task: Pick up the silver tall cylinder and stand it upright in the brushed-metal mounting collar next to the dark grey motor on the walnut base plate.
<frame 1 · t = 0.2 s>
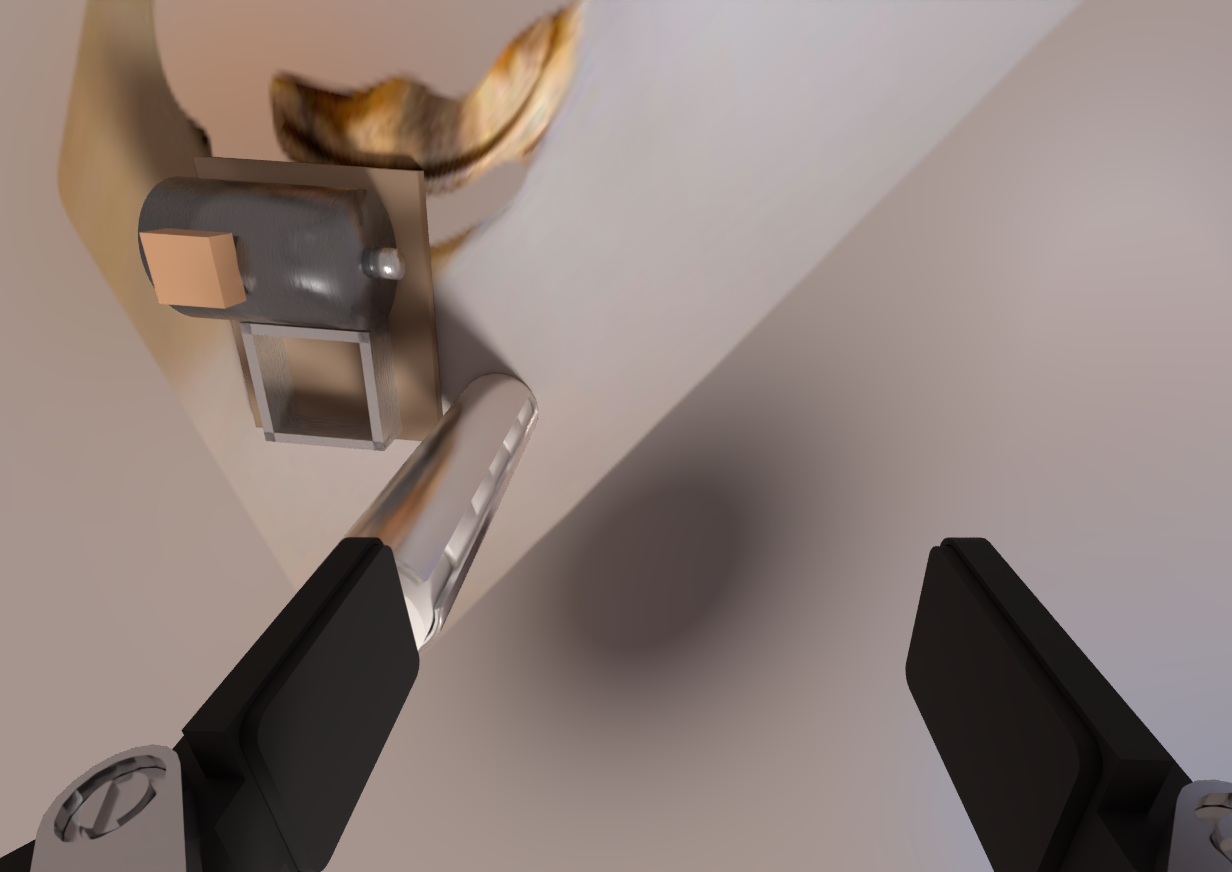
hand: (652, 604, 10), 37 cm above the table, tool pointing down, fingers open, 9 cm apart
motor mount: (335, 309, 47), on the table
silver tall cylinder: (501, 408, 50), on the table
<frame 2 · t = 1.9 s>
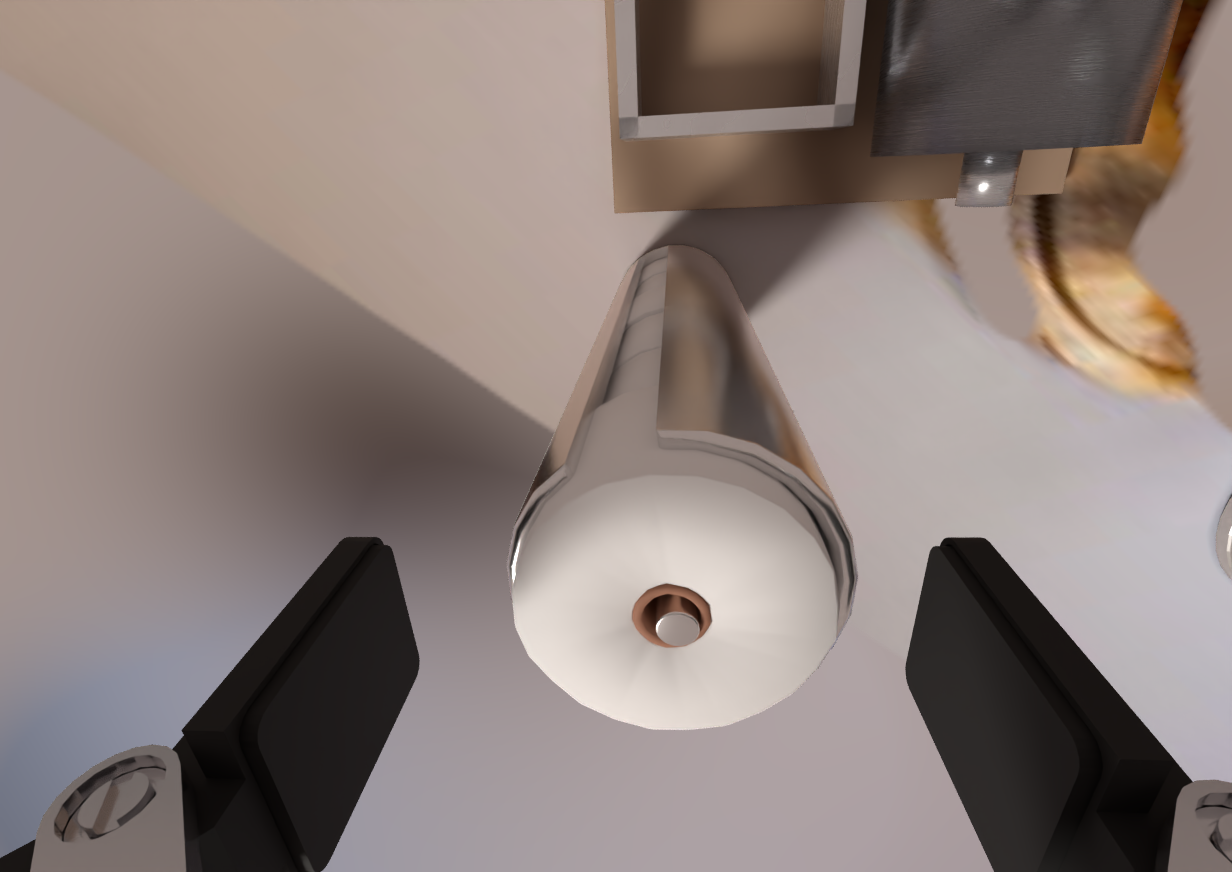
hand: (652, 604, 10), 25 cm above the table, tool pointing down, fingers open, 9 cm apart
motor mount: (841, 10, 26), on the table
silver tall cylinder: (675, 304, 33), on the table
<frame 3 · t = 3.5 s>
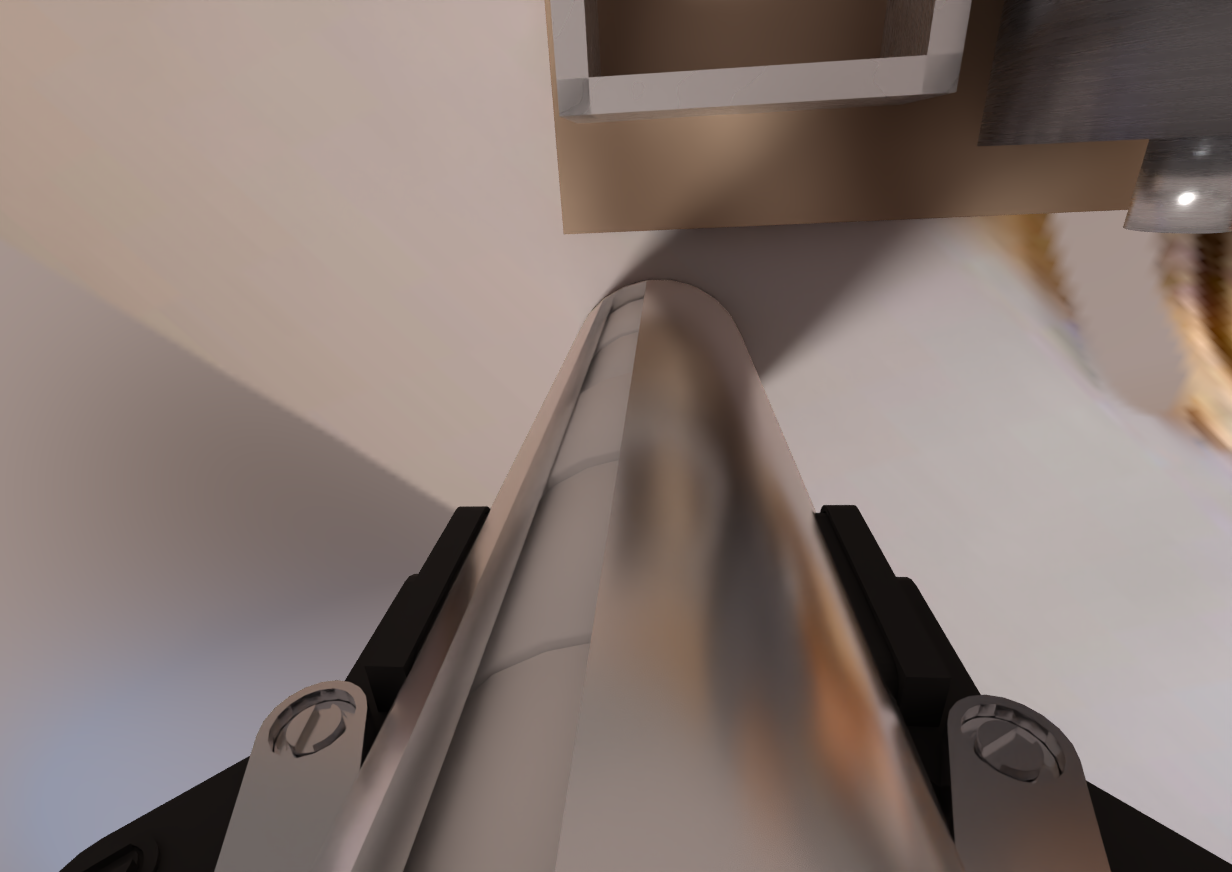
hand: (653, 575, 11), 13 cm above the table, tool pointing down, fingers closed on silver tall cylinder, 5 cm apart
silver tall cylinder: (658, 363, 23), on the table, touching gripper
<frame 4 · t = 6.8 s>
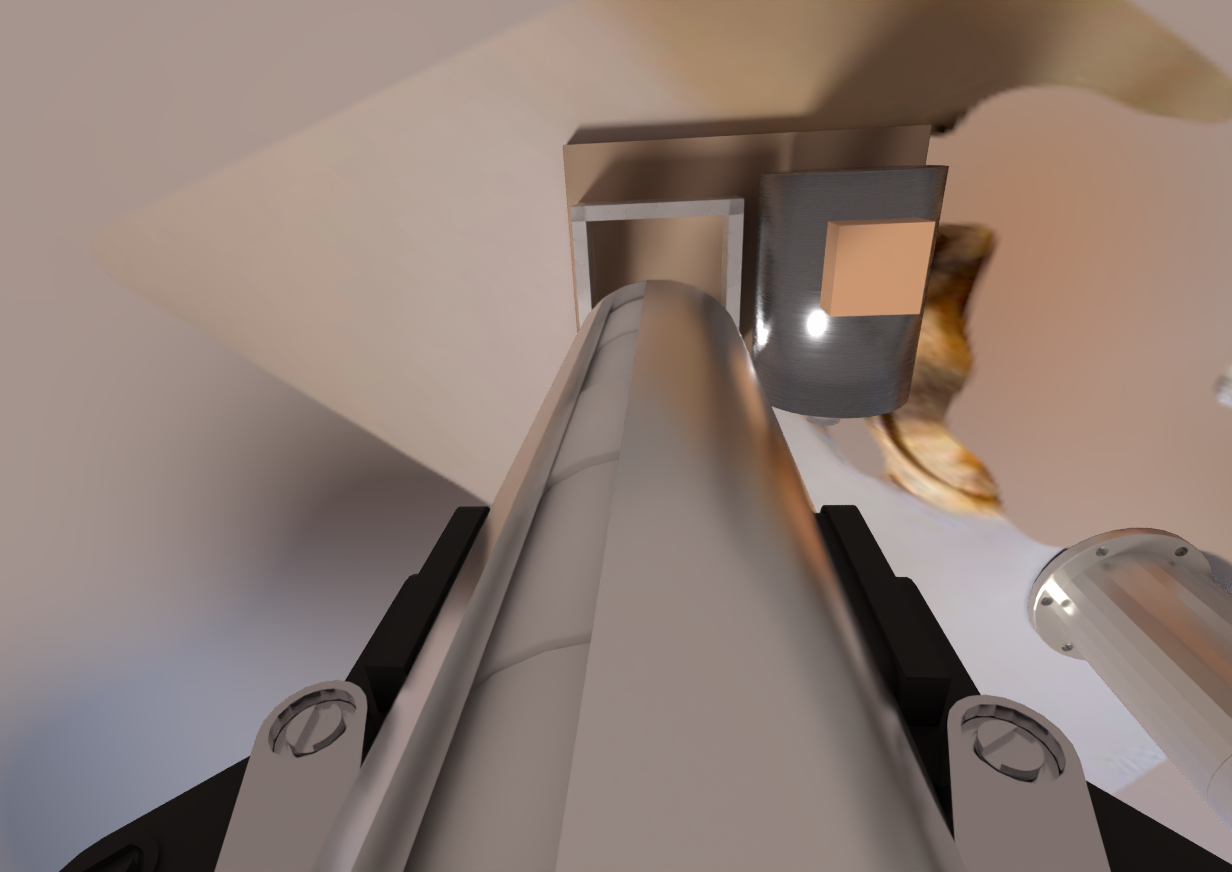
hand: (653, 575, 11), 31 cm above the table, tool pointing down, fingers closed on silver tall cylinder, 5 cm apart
motor mount: (735, 272, 39), on the table
silver tall cylinder: (657, 363, 23), point 18 cm above the table, touching gripper
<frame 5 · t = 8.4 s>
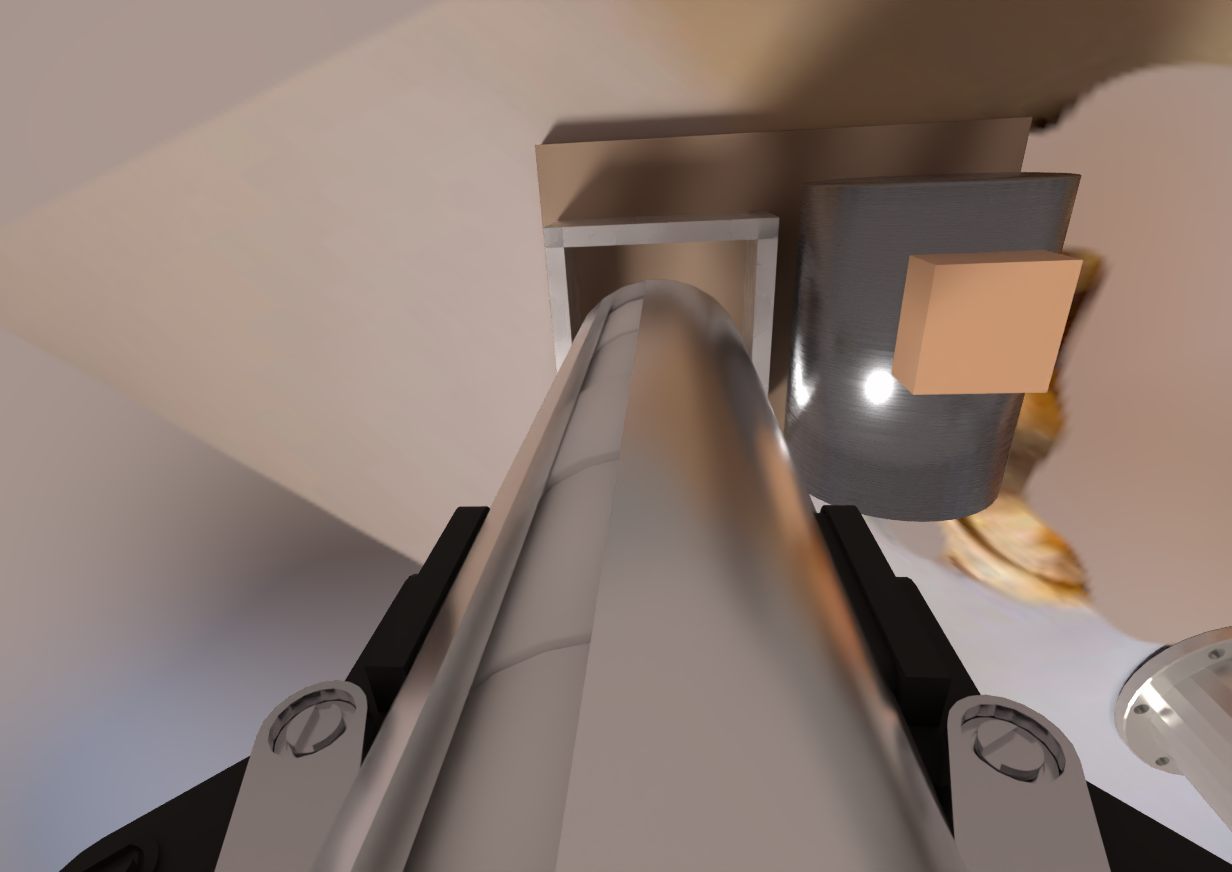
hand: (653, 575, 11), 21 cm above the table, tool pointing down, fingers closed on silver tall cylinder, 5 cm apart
motor mount: (760, 309, 30), on the table
silver tall cylinder: (657, 363, 23), point 9 cm above the table, touching gripper
when the fingers open (15 cm above the table, at t = 10.0 s): silver tall cylinder drops 2 cm, resting on motor mount.
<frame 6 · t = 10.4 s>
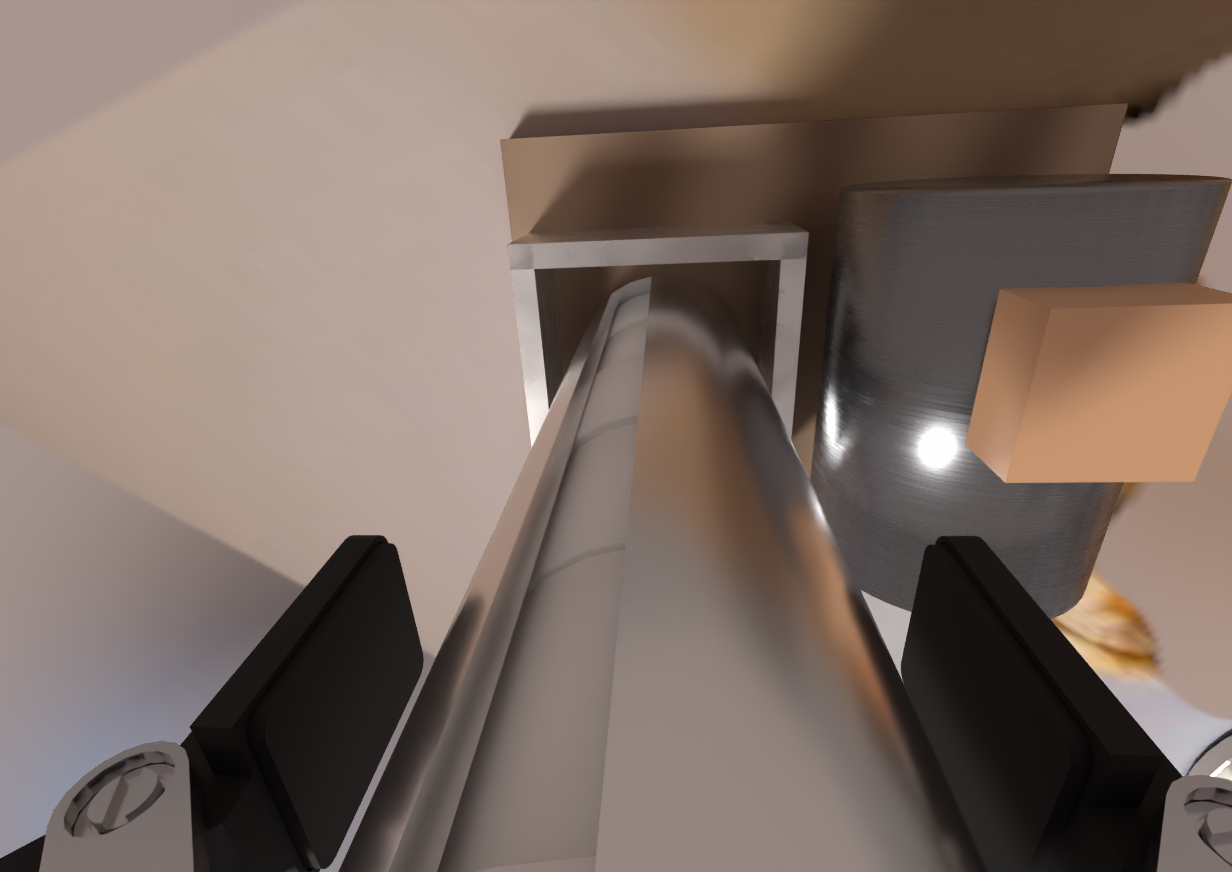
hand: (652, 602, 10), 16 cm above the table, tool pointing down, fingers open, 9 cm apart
motor mount: (778, 339, 25), on the table
silver tall cylinder: (662, 353, 24), point 1 cm above the table, touching motor mount
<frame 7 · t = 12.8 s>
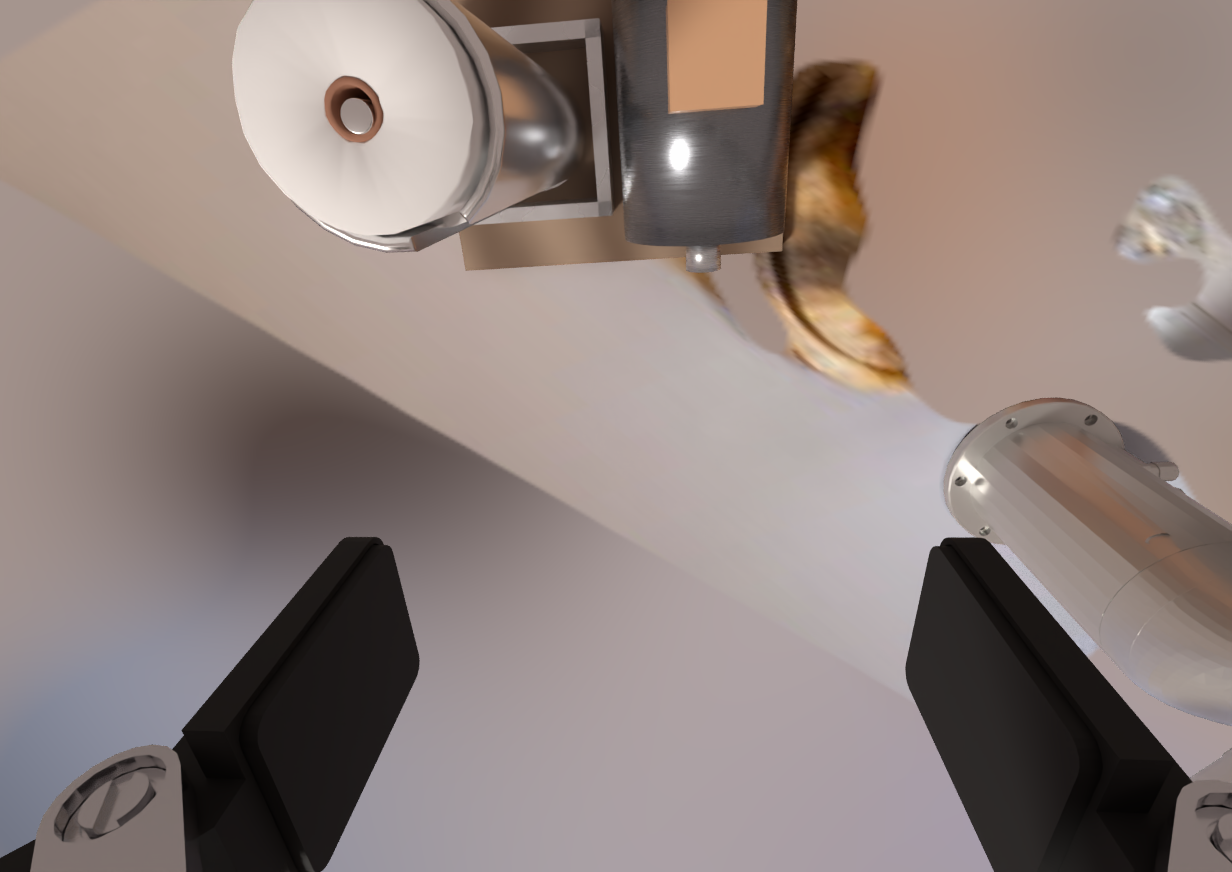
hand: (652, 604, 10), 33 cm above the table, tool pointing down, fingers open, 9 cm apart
motor mount: (613, 125, 37), on the table
silver tall cylinder: (534, 134, 36), point 1 cm above the table, touching motor mount
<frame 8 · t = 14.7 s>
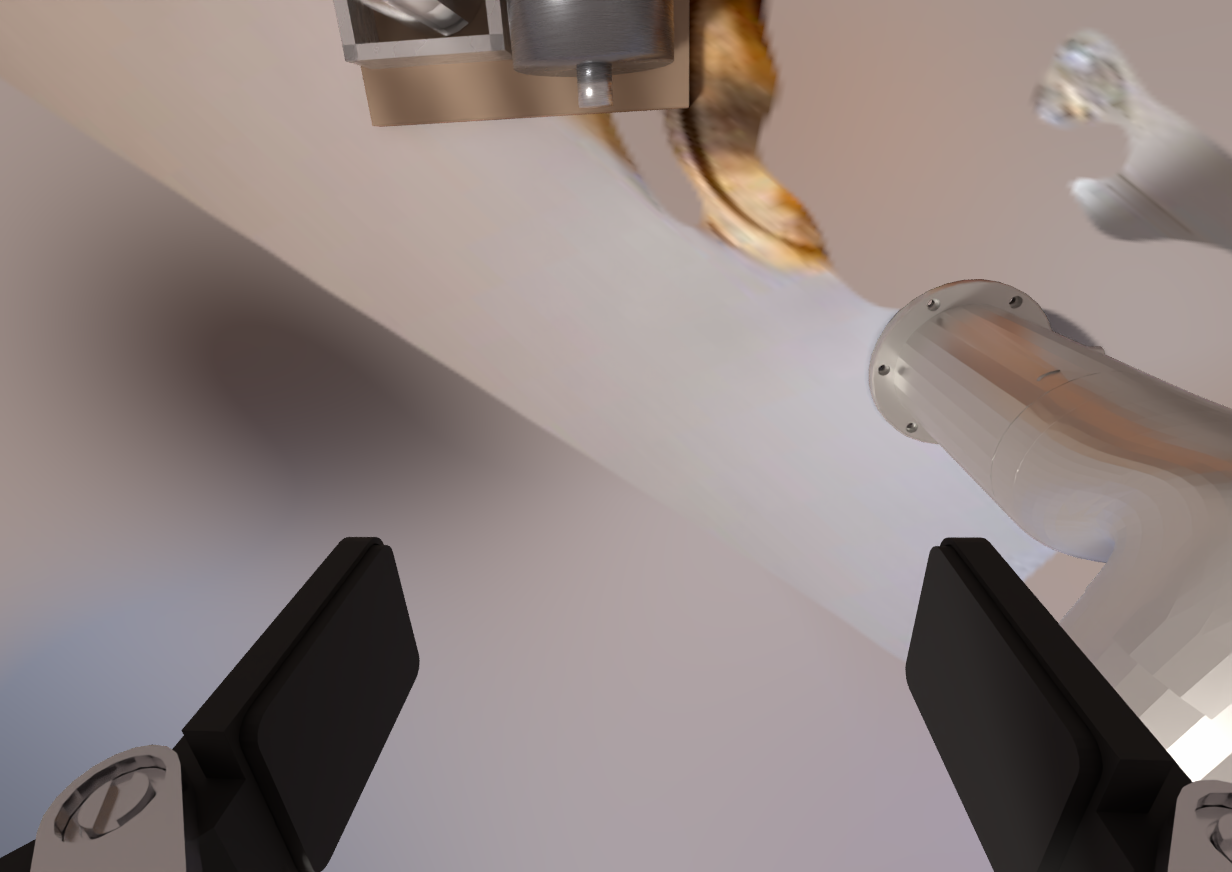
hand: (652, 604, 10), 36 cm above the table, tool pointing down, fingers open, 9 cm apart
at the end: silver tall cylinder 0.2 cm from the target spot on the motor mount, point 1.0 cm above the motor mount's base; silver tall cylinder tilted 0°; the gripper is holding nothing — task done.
